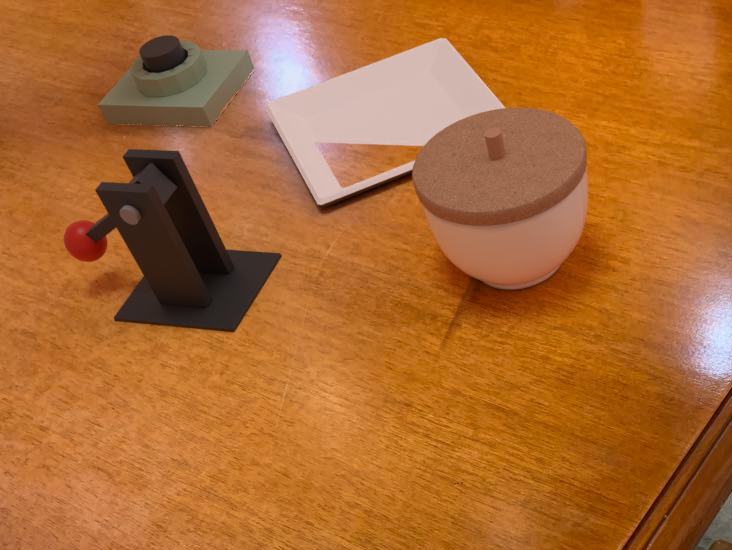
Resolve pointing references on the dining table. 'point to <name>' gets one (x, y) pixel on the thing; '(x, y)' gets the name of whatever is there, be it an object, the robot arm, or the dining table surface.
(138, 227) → the lever stand
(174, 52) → the power button
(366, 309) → the dining table surface
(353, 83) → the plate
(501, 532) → the dining table surface
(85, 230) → the red knobbed lever
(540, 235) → the lidded bowl
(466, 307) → the dining table surface
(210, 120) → the green button base
